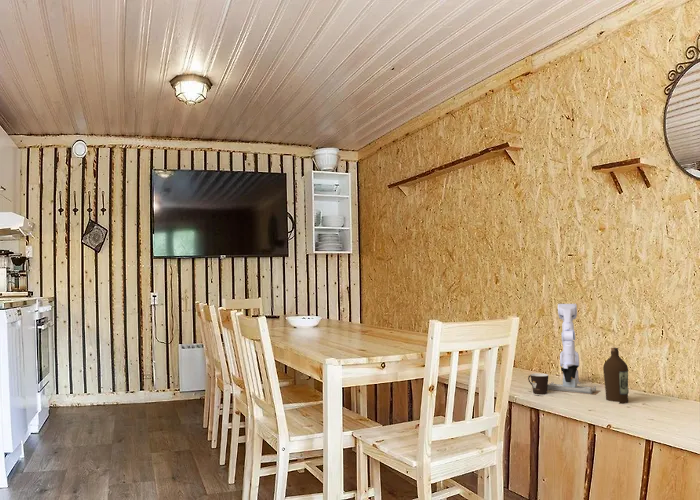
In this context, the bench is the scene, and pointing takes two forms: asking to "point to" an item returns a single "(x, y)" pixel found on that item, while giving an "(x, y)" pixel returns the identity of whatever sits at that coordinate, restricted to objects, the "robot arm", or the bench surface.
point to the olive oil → (616, 378)
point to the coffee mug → (539, 383)
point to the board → (581, 393)
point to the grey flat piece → (571, 388)
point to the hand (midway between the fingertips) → (570, 380)
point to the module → (570, 384)
